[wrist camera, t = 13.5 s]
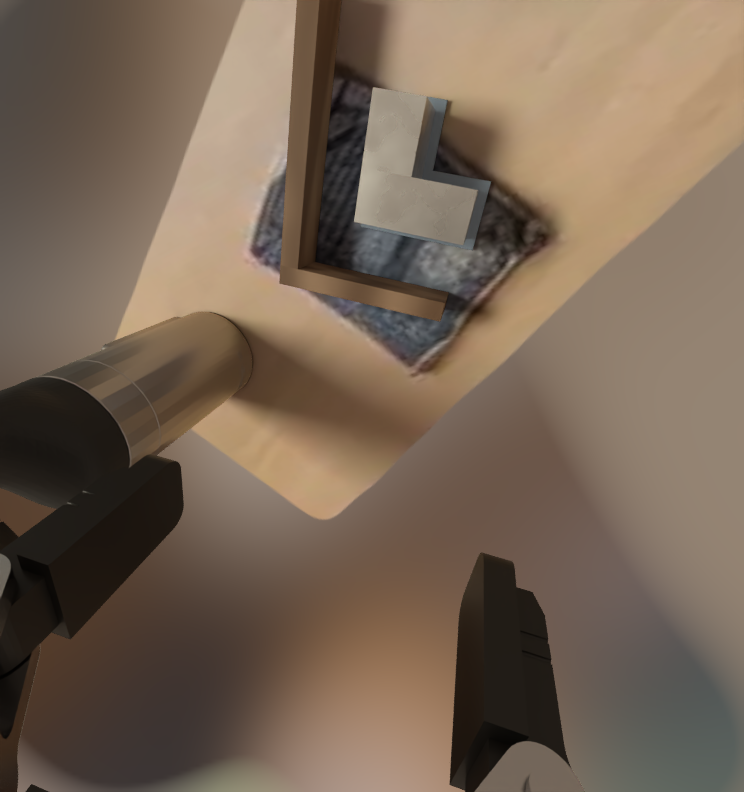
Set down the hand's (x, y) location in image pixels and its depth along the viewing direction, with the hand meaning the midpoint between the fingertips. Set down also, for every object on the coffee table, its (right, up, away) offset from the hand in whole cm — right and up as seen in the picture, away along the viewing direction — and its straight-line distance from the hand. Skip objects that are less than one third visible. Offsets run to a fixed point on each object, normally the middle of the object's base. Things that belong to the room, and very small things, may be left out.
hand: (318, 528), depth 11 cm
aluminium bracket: (+6, +21, +21) cm, 30 cm away
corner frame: (+3, +21, +22) cm, 31 cm away
